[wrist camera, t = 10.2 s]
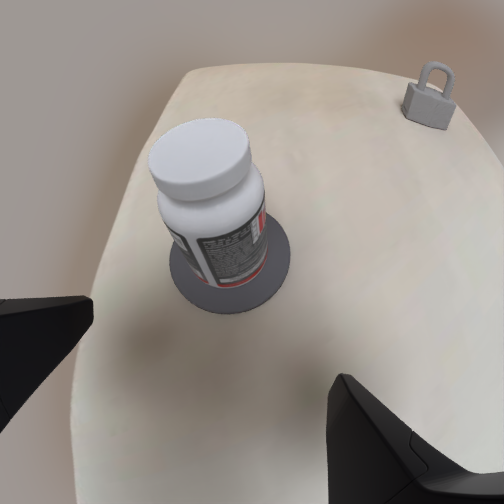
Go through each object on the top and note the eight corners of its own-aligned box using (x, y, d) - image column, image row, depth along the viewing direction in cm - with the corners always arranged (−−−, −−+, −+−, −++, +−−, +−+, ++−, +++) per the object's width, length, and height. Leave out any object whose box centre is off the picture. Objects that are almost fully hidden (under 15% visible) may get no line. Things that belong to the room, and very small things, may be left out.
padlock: (438, 118, 30) (456, 66, 21) (447, 133, 28) (469, 78, 19) (399, 107, 31) (414, 50, 22) (406, 121, 29) (424, 60, 20)
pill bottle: (273, 227, 21) (272, 113, 12) (260, 297, 18) (248, 198, 9) (202, 218, 22) (166, 114, 13) (180, 283, 19) (116, 189, 10)
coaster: (255, 336, 17) (255, 334, 17) (150, 280, 20) (147, 277, 19) (307, 231, 21) (308, 227, 20) (210, 196, 23) (208, 191, 23)
